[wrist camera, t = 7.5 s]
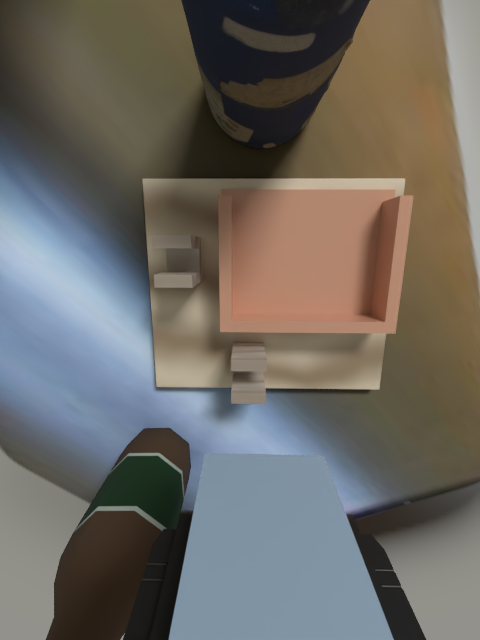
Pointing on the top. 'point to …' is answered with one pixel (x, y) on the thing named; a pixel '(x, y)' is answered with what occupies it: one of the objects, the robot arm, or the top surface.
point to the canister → (269, 61)
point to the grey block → (273, 556)
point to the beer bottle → (119, 537)
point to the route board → (204, 302)
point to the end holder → (311, 260)
